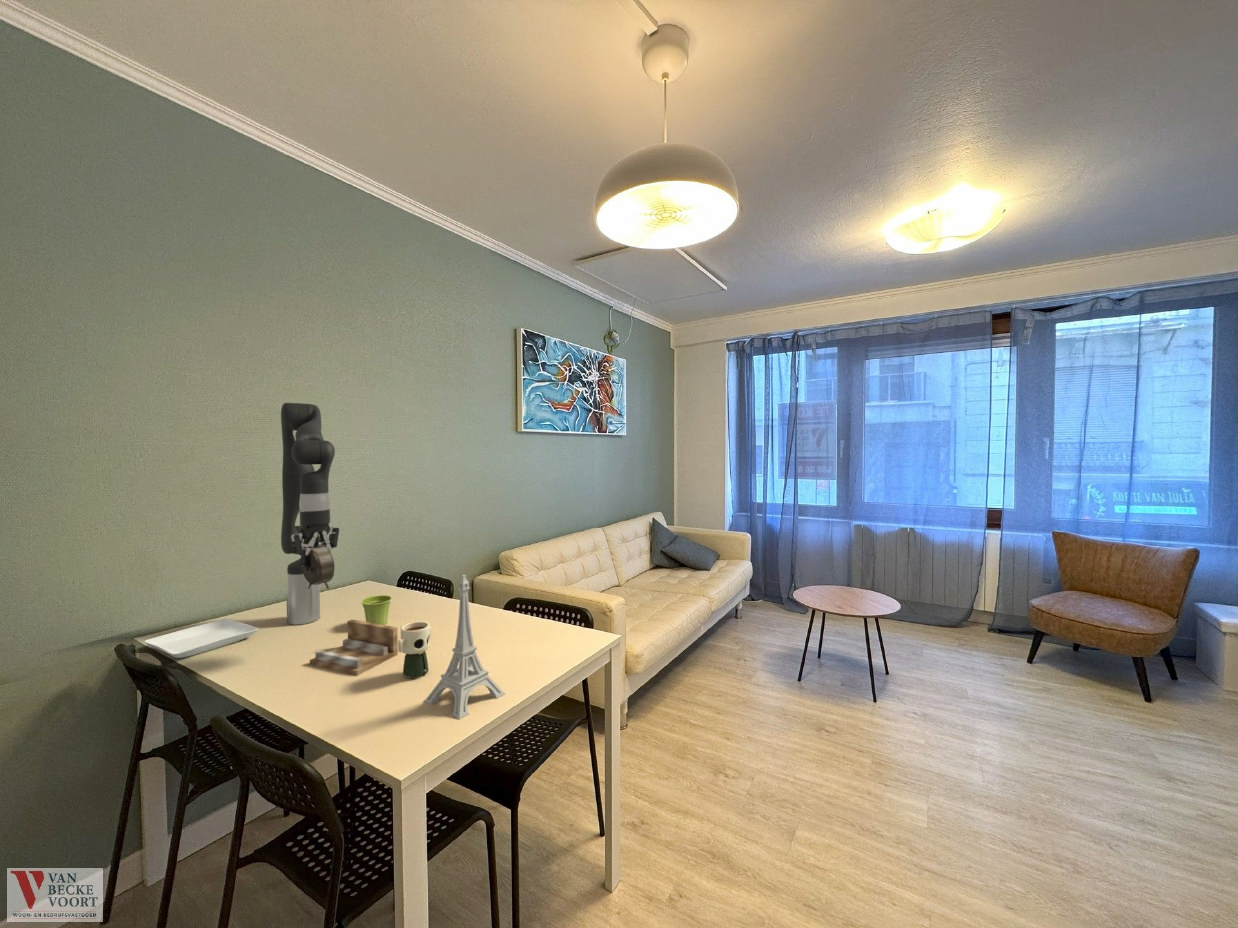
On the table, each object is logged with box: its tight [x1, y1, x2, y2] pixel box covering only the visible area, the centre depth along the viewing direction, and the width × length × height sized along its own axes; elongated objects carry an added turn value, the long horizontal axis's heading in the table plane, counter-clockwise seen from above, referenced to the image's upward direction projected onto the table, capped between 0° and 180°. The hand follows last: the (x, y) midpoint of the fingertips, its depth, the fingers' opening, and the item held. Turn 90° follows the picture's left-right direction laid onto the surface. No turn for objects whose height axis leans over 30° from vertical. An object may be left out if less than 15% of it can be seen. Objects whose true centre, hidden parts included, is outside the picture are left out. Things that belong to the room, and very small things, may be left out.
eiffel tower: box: [423, 574, 506, 720], centre depth 114 cm, size 13×13×30 cm
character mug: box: [398, 621, 432, 679], centre depth 126 cm, size 11×7×13 cm, turn 157°
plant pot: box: [360, 594, 393, 625], centre depth 161 cm, size 9×9×9 cm
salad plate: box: [143, 618, 259, 659], centre depth 146 cm, size 21×21×3 cm
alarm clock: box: [302, 534, 335, 590], centre depth 140 cm, size 11×5×16 cm, turn 57°
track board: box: [309, 619, 399, 676], centre depth 135 cm, size 18×14×8 cm
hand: (316, 565), depth 140 cm, fingers closed on alarm clock, 5 cm apart
